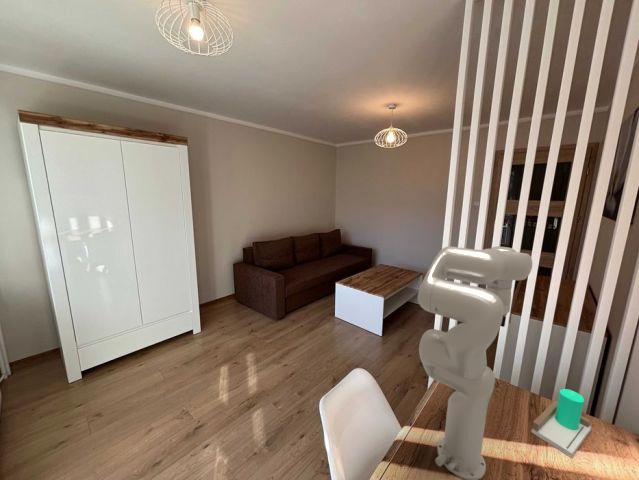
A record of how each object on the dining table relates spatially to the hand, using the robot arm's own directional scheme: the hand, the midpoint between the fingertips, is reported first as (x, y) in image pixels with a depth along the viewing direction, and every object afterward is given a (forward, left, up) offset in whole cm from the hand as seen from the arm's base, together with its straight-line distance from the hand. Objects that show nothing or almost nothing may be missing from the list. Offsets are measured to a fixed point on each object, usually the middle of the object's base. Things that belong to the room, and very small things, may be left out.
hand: (492, 328), depth 94 cm
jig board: (+10, -20, -30) cm, 38 cm away
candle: (+14, -20, -29) cm, 38 cm away
